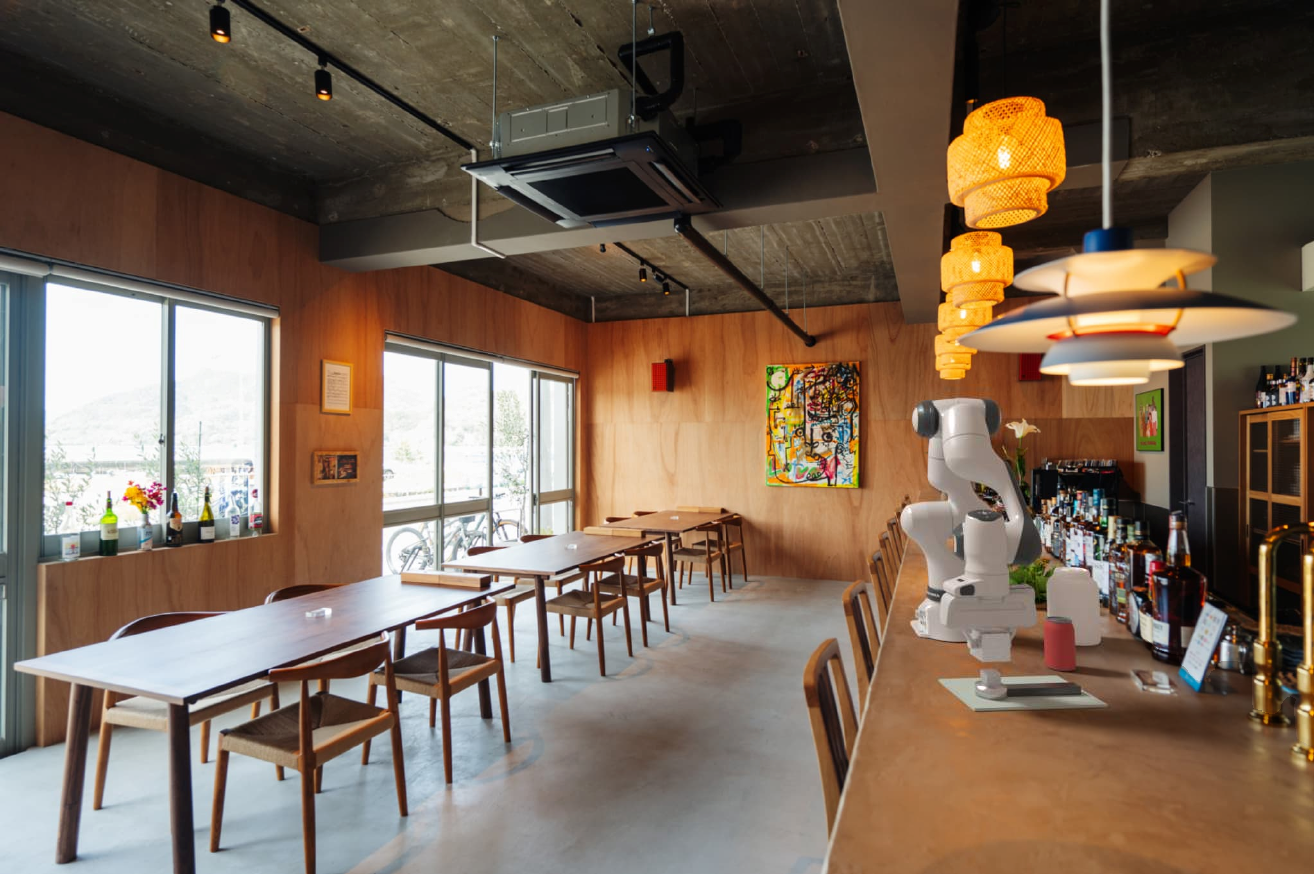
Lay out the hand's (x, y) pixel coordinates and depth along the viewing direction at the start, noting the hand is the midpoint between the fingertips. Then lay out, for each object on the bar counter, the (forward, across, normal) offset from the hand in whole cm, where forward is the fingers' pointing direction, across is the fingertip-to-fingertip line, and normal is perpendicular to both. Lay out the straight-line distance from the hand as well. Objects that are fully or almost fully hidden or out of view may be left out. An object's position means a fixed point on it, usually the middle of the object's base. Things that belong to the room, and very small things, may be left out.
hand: (989, 647), depth 150 cm
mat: (+11, -7, -2) cm, 13 cm away
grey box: (+2, 0, 0) cm, 2 cm away
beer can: (+11, -26, -18) cm, 34 cm away
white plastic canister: (+11, -43, -40) cm, 60 cm away
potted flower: (+11, -56, -80) cm, 98 cm away
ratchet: (+10, -8, 0) cm, 13 cm away
